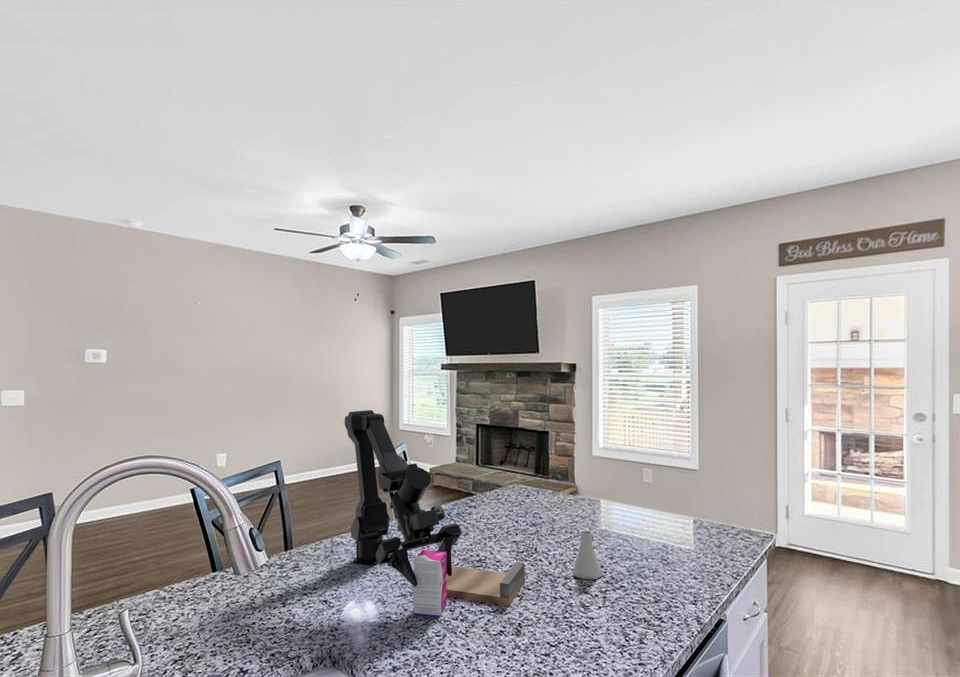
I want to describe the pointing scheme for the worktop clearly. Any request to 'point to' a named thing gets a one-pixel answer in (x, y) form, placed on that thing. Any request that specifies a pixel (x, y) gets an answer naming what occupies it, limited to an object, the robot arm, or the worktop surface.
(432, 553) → the supplement box
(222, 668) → the worktop surface
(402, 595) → the worktop surface
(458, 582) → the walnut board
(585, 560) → the flask
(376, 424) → the robot arm
